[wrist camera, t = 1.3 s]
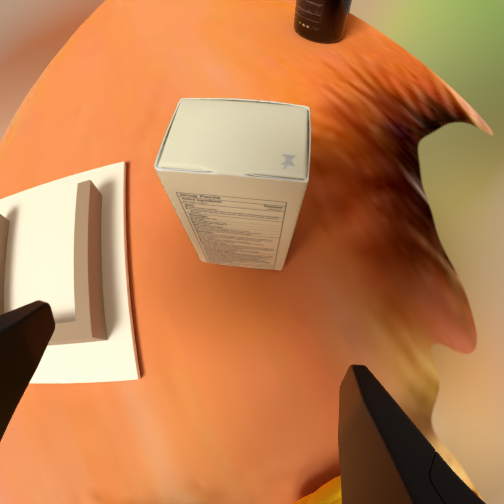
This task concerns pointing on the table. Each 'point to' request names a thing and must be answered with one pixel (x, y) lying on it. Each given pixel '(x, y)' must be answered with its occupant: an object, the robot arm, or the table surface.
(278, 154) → the skincare box
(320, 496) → the duckling
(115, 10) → the table surface
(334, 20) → the supplement bottle
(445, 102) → the table surface
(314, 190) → the table surface
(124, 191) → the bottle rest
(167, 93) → the table surface
